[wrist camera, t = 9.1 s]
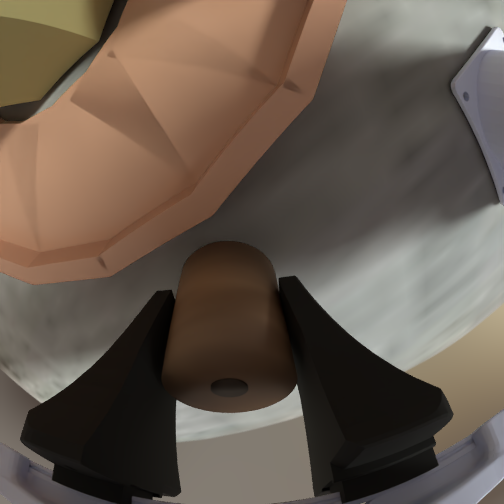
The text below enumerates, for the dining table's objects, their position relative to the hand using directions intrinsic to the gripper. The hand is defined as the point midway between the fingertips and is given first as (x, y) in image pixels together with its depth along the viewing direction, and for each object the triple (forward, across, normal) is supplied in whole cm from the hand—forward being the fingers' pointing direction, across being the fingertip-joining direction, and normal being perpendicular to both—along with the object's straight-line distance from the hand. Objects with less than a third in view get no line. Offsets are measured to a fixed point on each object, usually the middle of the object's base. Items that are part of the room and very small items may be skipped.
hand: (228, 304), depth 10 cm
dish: (+3, +7, -14) cm, 16 cm away
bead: (+1, 0, 0) cm, 1 cm away
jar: (+3, +7, -14) cm, 16 cm away
